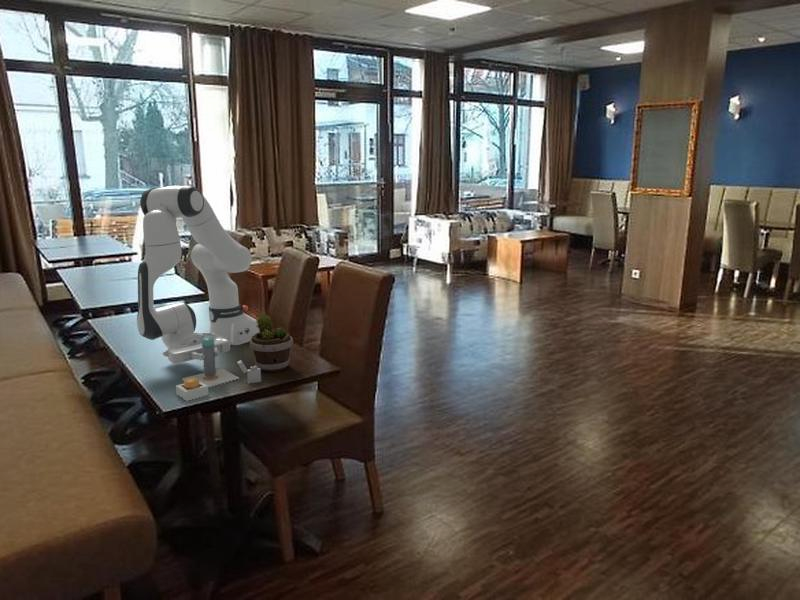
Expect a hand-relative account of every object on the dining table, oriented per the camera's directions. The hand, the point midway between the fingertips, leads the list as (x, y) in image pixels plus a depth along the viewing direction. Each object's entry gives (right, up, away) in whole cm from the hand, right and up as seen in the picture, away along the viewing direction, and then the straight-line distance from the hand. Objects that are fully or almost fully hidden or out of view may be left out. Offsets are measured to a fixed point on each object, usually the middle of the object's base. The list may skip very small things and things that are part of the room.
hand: (210, 355), depth 189 cm
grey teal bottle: (-1, -6, +2) cm, 7 cm away
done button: (-2, -9, -10) cm, 14 cm away
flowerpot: (+17, -6, +14) cm, 23 cm away
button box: (-2, -11, -10) cm, 15 cm away
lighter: (+13, -9, 0) cm, 16 cm away
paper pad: (-1, -8, +3) cm, 9 cm away
